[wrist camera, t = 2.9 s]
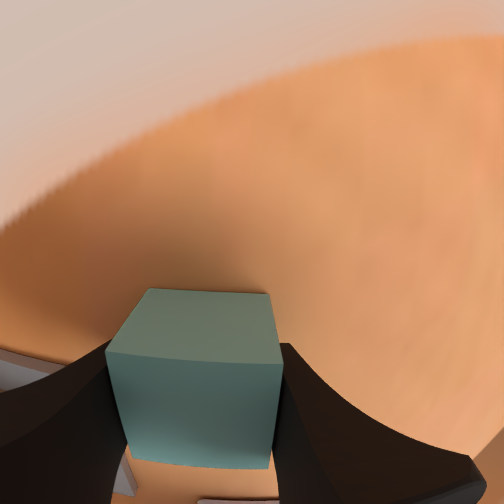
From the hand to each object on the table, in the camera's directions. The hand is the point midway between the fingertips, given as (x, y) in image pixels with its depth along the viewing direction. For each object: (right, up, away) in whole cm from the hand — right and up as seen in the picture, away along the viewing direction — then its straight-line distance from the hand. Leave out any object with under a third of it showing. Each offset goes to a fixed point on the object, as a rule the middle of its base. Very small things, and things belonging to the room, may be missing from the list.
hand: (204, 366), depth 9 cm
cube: (0, 0, +1) cm, 1 cm away
